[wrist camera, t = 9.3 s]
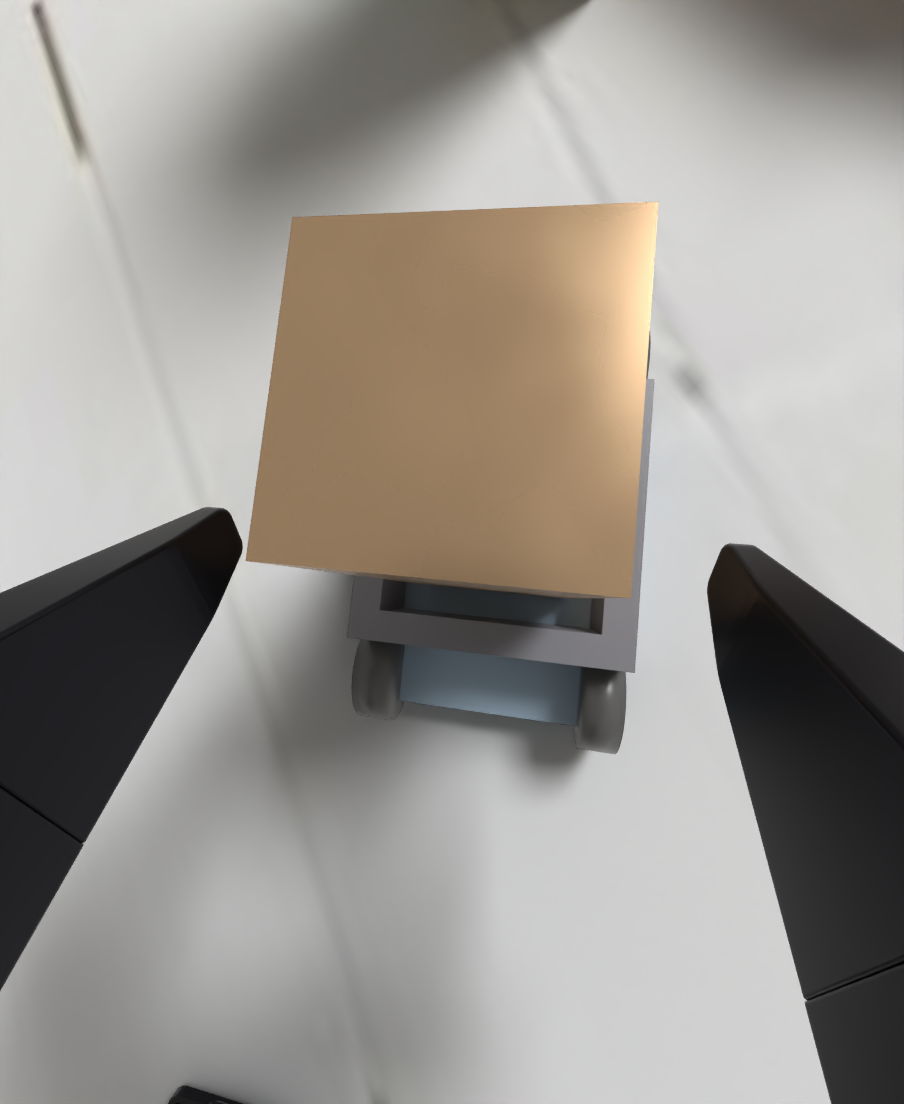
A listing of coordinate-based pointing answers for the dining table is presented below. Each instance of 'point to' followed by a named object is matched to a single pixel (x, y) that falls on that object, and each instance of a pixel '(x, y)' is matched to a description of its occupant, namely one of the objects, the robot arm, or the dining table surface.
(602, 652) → the chassis
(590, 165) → the dining table surface
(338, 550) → the tall tan wooden block
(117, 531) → the dining table surface
